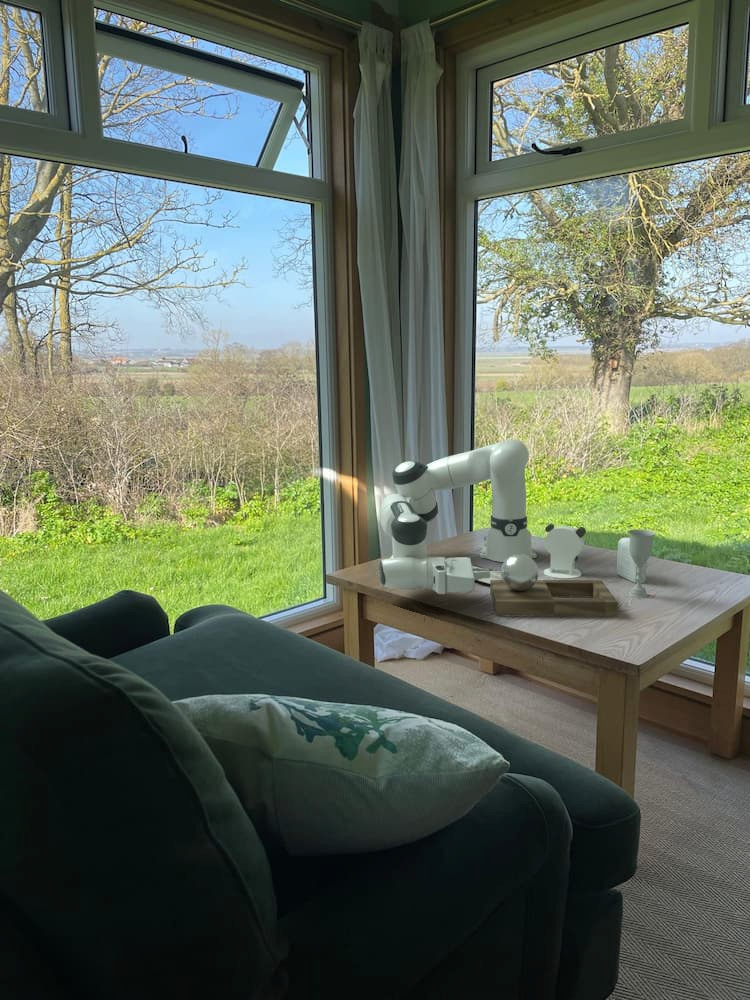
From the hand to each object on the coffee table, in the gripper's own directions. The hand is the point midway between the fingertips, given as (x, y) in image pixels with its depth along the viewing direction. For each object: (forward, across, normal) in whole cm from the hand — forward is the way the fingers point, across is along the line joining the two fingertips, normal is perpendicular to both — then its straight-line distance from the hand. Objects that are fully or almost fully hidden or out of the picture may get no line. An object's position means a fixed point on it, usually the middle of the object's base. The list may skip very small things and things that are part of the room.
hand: (489, 573), depth 194 cm
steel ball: (+8, 0, 0) cm, 8 cm away
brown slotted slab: (+16, 0, -9) cm, 18 cm away
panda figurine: (+25, -28, -9) cm, 39 cm away
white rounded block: (+44, -23, -9) cm, 51 cm away
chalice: (+42, -8, -9) cm, 44 cm away
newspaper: (-4, -27, -10) cm, 29 cm away
